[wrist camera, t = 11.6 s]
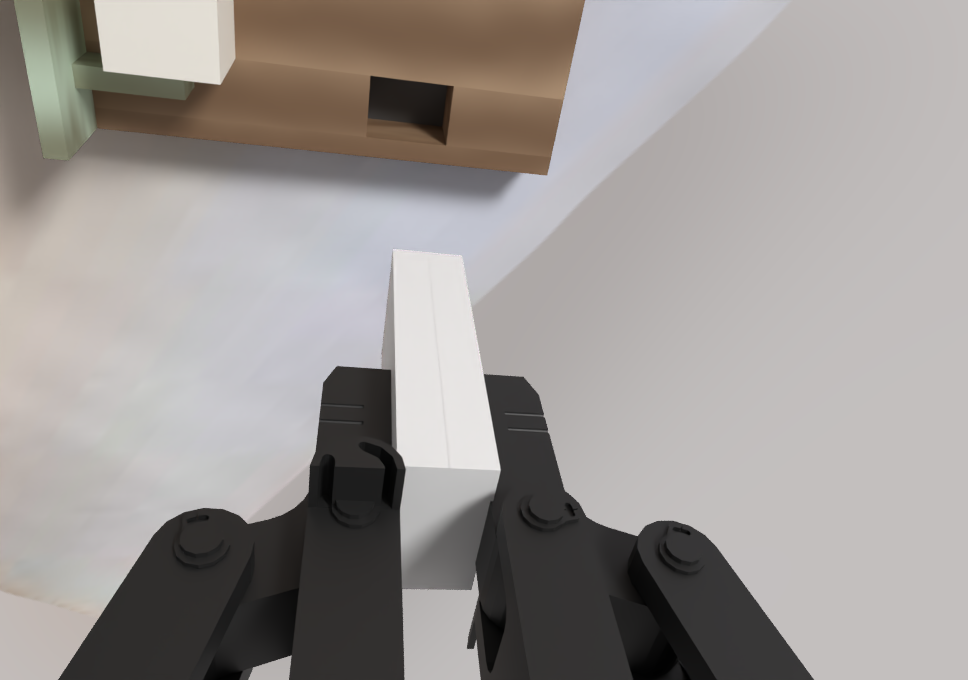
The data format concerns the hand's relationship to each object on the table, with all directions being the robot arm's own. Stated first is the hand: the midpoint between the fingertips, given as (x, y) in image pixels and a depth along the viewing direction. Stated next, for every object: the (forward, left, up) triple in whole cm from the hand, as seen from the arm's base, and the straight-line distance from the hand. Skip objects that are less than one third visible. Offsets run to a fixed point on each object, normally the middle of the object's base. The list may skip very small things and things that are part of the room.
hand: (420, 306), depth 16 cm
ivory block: (-1, -10, -22) cm, 24 cm away
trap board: (-1, -3, -25) cm, 25 cm away
